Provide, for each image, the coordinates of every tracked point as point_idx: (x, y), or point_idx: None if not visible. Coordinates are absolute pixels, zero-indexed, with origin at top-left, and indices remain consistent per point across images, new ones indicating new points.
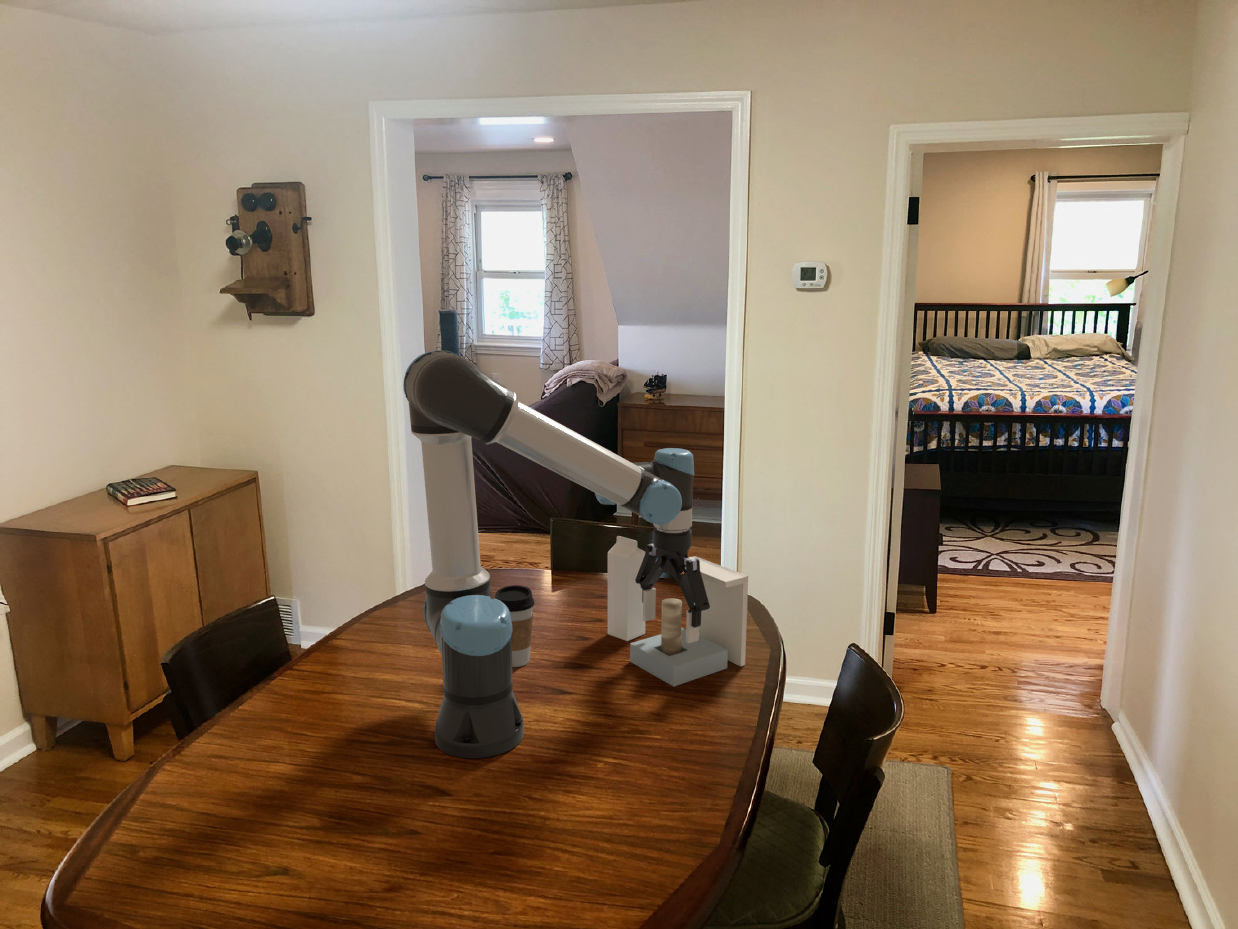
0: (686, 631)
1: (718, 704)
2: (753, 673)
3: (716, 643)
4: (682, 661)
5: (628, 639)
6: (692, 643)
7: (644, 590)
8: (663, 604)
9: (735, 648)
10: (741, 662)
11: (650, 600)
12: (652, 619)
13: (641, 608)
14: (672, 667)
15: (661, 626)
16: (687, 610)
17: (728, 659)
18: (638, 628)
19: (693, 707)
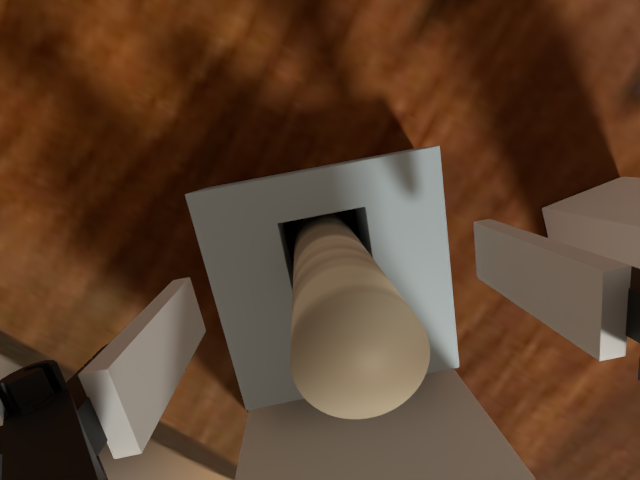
0: (166, 298)
1: (59, 249)
2: (201, 412)
3: None
4: (217, 244)
5: (545, 213)
6: None
7: (623, 271)
8: (354, 291)
9: (267, 435)
10: (248, 414)
11: (541, 285)
12: (476, 263)
13: None
14: (194, 192)
15: (360, 249)
16: (102, 373)
17: None
18: None
19: (61, 176)
